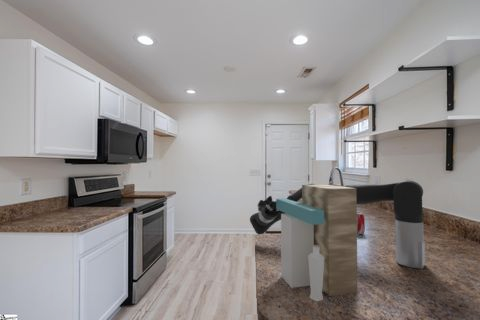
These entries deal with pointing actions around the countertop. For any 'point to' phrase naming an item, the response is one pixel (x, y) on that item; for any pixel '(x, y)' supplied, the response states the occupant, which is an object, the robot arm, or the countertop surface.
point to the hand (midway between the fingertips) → (281, 197)
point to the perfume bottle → (316, 273)
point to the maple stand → (336, 235)
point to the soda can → (360, 223)
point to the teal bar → (301, 211)
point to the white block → (296, 250)
